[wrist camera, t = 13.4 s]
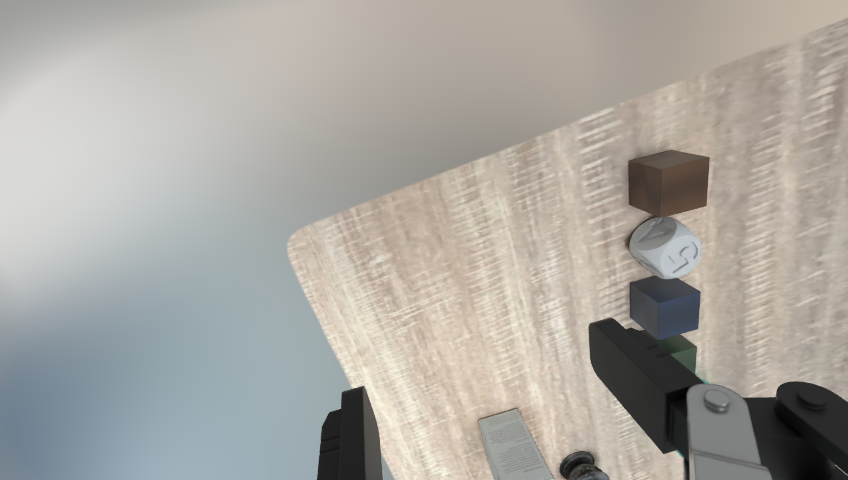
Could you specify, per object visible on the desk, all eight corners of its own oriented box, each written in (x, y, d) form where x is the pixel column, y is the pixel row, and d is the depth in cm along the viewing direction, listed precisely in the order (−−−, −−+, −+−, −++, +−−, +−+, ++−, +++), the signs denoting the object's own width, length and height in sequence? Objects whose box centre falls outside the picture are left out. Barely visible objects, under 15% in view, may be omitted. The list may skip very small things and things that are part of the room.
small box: (525, 449, 55) (562, 526, 46) (486, 461, 55) (515, 541, 45) (518, 406, 52) (555, 478, 43) (477, 418, 52) (505, 494, 42)
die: (621, 241, 46) (650, 258, 42) (655, 210, 45) (689, 224, 41) (642, 267, 48) (673, 286, 43) (676, 238, 47) (711, 254, 43)
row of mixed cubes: (628, 160, 43) (661, 169, 38) (671, 149, 43) (710, 157, 39) (630, 364, 53) (656, 391, 48) (665, 354, 53) (694, 379, 49)
